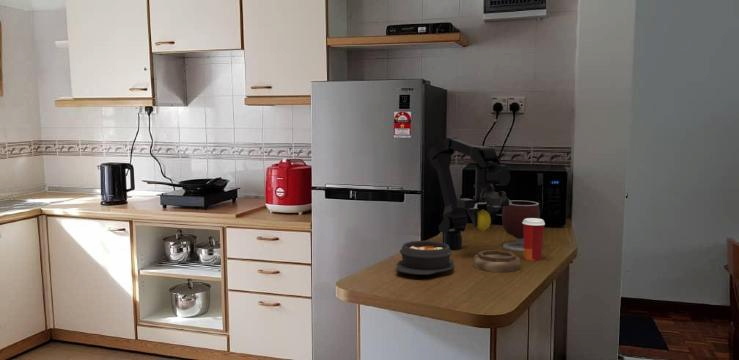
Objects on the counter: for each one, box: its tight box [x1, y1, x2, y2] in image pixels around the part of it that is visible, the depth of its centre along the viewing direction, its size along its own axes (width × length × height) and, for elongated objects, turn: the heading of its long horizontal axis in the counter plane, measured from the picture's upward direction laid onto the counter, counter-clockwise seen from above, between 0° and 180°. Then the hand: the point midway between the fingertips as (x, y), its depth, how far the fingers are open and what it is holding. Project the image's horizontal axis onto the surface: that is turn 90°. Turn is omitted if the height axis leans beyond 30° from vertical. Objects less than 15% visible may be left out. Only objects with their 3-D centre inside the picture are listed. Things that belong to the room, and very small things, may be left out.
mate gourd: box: [501, 199, 541, 252], centre depth 240 cm, size 16×14×20 cm
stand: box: [473, 249, 521, 273], centre depth 211 cm, size 15×15×4 cm
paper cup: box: [522, 218, 546, 262], centre depth 221 cm, size 8×8×14 cm
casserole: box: [395, 240, 455, 276], centre depth 205 cm, size 25×19×8 cm
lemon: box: [476, 208, 492, 233], centre depth 224 cm, size 6×6×8 cm
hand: (482, 226), depth 224 cm, fingers closed on lemon, 5 cm apart
